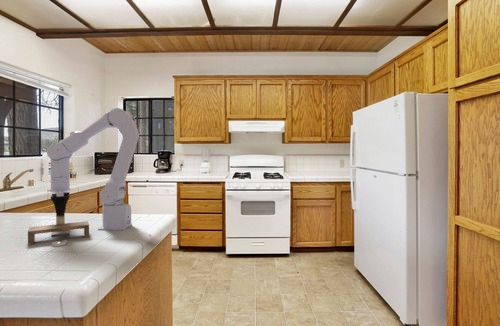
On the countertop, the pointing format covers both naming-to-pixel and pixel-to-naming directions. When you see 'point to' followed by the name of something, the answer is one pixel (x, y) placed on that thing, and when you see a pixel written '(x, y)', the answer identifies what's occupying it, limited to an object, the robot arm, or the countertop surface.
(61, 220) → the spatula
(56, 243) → the silver flat dome
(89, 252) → the countertop surface
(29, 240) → the brown wooden bridge
